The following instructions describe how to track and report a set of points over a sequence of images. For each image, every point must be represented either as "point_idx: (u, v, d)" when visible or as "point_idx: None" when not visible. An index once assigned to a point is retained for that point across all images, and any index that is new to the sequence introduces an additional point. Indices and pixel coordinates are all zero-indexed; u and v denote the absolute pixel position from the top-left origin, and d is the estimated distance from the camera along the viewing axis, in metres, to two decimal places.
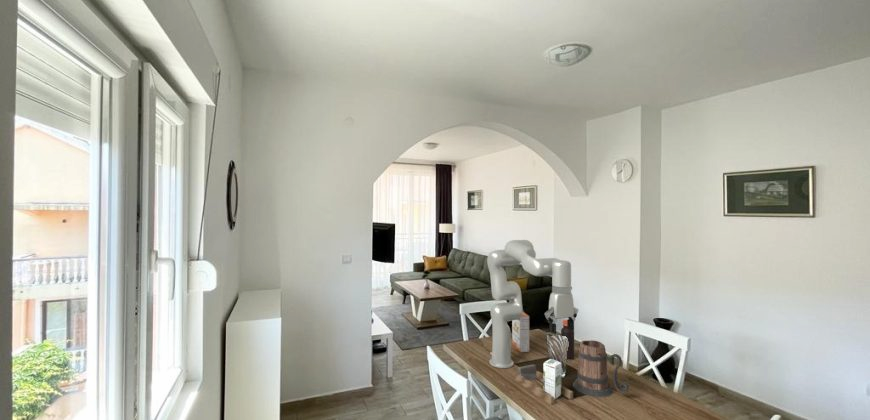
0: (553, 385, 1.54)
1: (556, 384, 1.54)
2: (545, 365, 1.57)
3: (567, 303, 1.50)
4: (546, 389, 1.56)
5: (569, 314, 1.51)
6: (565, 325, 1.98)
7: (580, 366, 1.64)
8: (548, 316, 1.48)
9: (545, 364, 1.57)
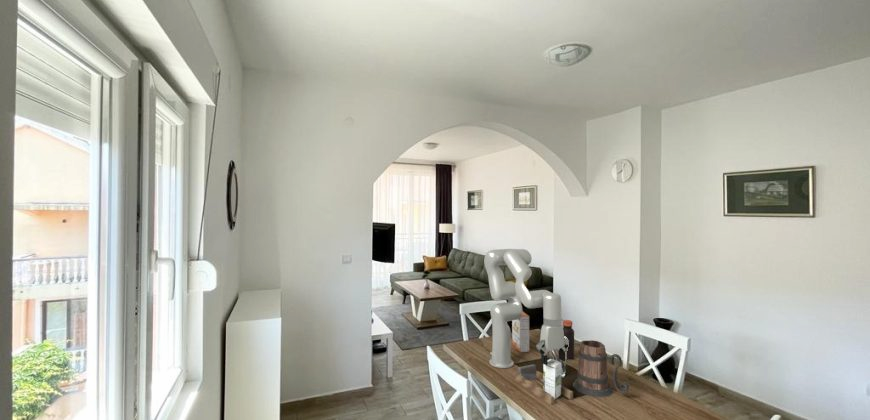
0: (553, 385, 1.54)
1: (556, 384, 1.54)
2: (545, 365, 1.57)
3: (558, 335, 1.56)
4: (546, 389, 1.56)
5: (560, 346, 1.56)
6: (565, 325, 1.98)
7: (580, 366, 1.64)
8: (539, 348, 1.54)
9: None
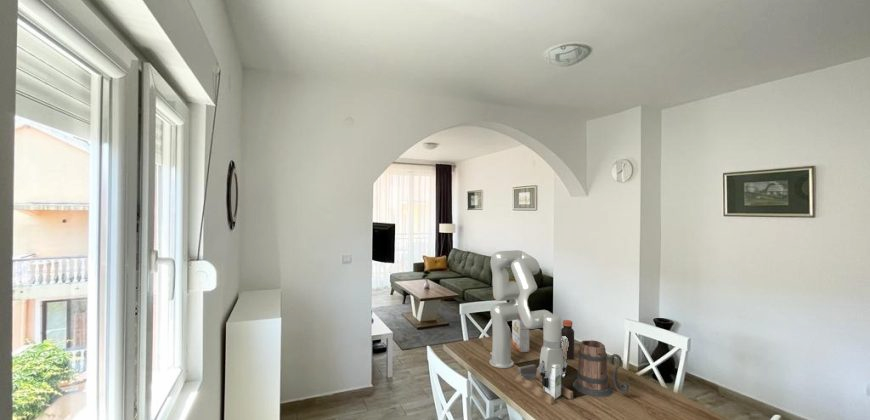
0: (553, 385, 1.54)
1: (556, 384, 1.54)
2: None
3: (557, 357, 1.56)
4: (546, 389, 1.56)
5: None
6: (565, 325, 1.98)
7: (580, 366, 1.64)
8: (540, 371, 1.54)
9: None
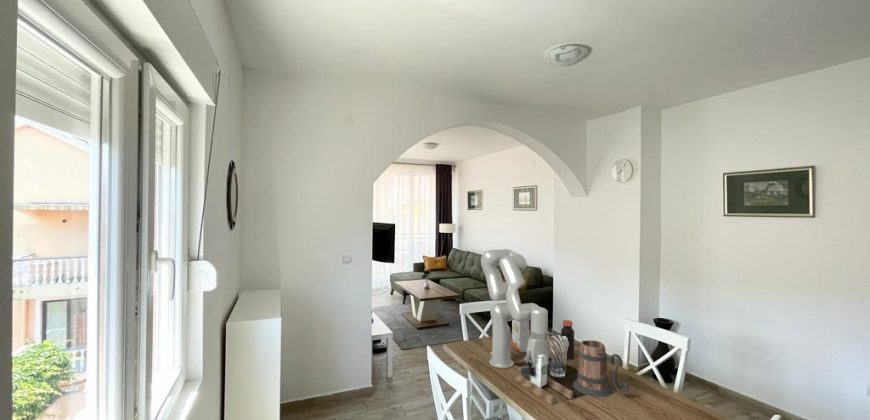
0: (539, 374, 1.62)
1: (542, 373, 1.63)
2: None
3: (543, 347, 1.64)
4: (533, 378, 1.65)
5: None
6: (565, 325, 1.98)
7: (580, 366, 1.64)
8: (527, 361, 1.62)
9: None
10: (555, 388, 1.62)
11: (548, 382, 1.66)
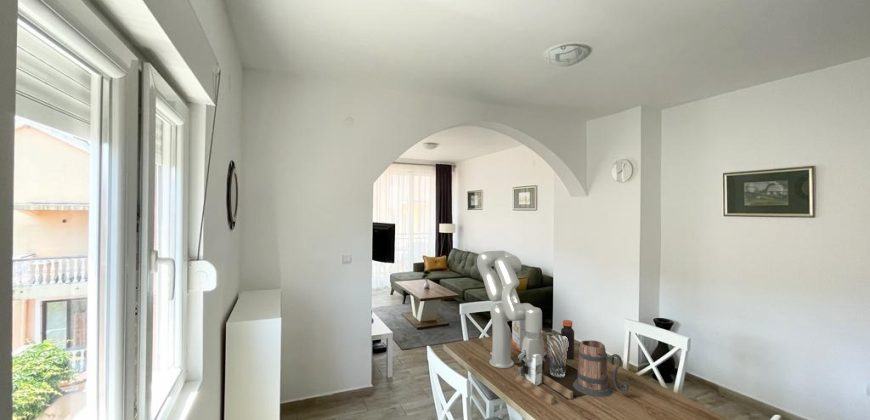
0: (534, 373, 1.66)
1: (536, 372, 1.66)
2: None
3: (538, 346, 1.67)
4: (527, 377, 1.68)
5: None
6: (565, 325, 1.98)
7: (580, 366, 1.64)
8: (521, 359, 1.65)
9: None
10: (555, 388, 1.62)
11: (548, 382, 1.66)
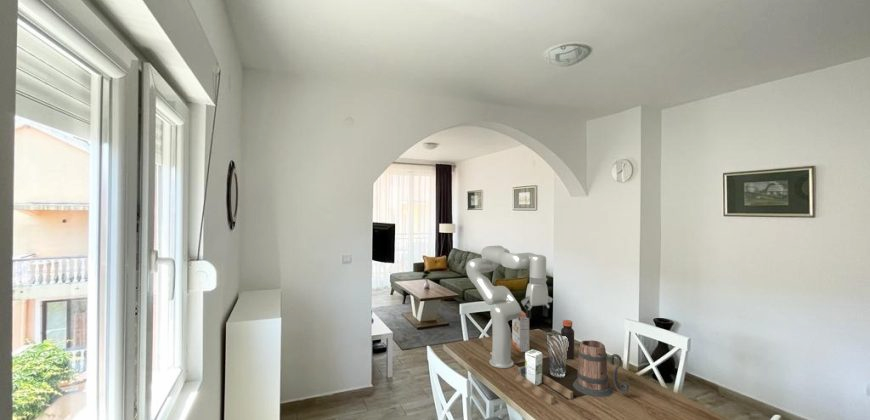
0: (534, 373, 1.66)
1: (536, 372, 1.66)
2: (527, 355, 1.69)
3: (542, 292, 1.70)
4: (527, 377, 1.68)
5: (544, 302, 1.71)
6: (565, 325, 1.98)
7: (580, 366, 1.64)
8: (524, 303, 1.69)
9: (527, 354, 1.69)
10: (555, 388, 1.62)
11: (548, 382, 1.66)
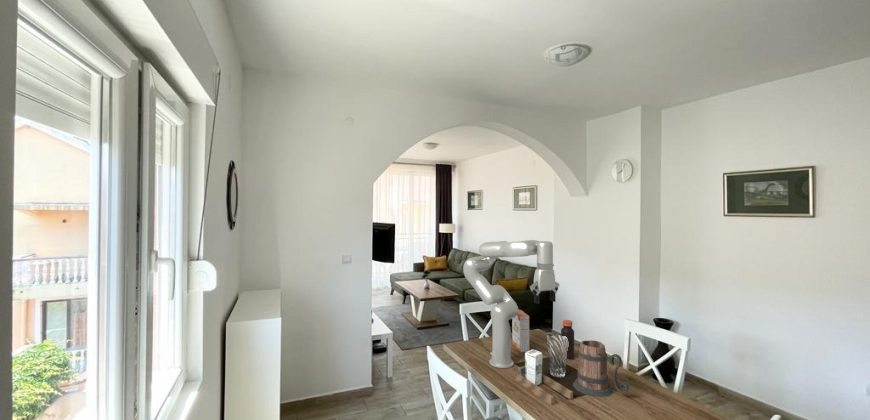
0: (534, 373, 1.66)
1: (536, 372, 1.66)
2: (527, 355, 1.69)
3: (549, 278, 1.73)
4: (527, 377, 1.68)
5: (551, 288, 1.74)
6: (565, 325, 1.98)
7: (580, 366, 1.64)
8: (533, 288, 1.72)
9: (527, 354, 1.69)
10: (555, 388, 1.62)
11: (548, 382, 1.66)
